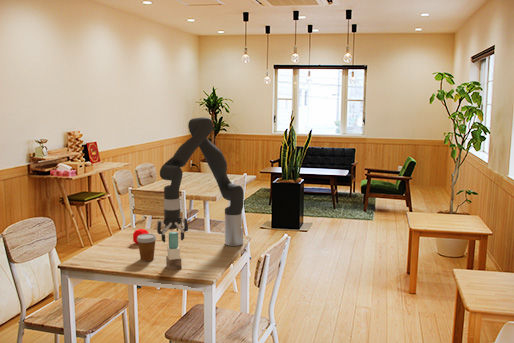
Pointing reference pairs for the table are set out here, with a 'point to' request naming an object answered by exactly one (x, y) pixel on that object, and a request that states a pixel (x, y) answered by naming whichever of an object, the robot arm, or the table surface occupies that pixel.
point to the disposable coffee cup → (146, 246)
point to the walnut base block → (173, 264)
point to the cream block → (173, 253)
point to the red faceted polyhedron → (139, 232)
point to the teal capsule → (173, 240)
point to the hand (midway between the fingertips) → (173, 240)
